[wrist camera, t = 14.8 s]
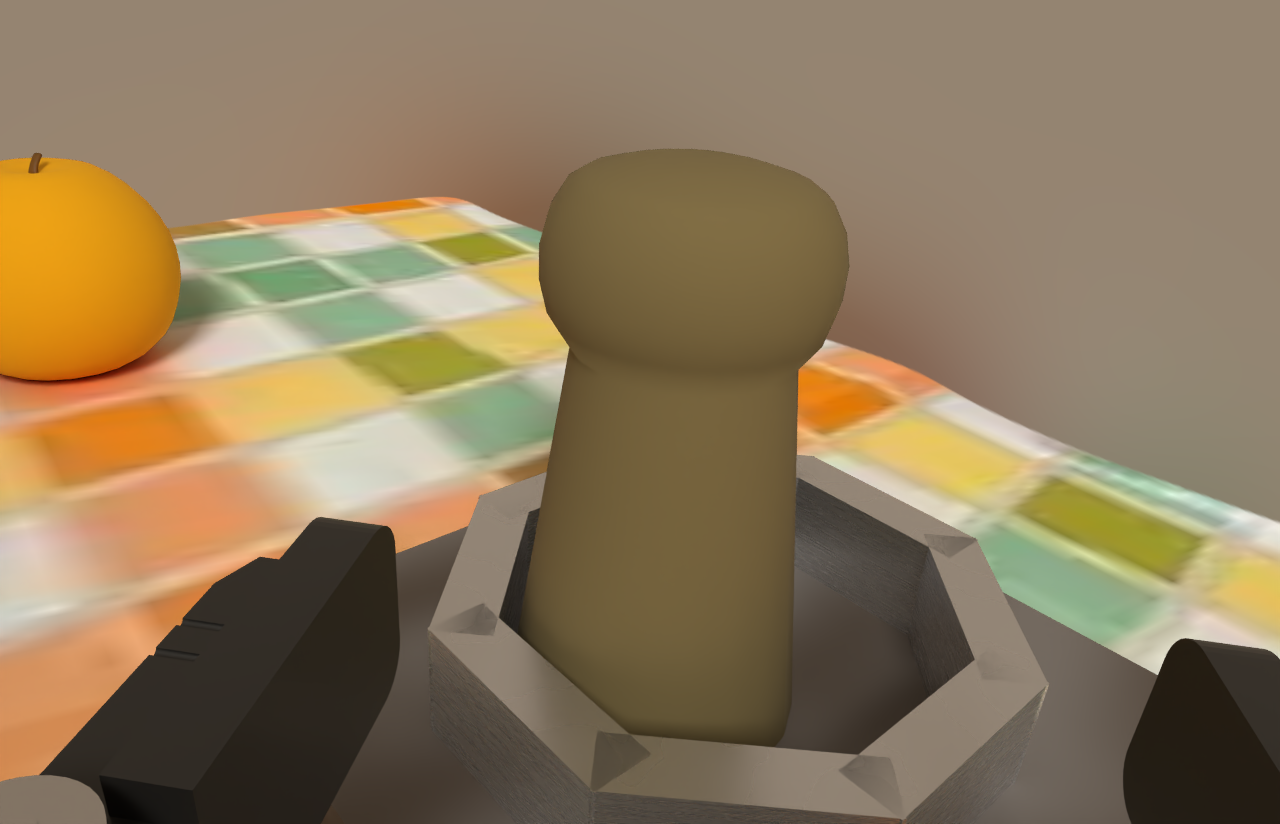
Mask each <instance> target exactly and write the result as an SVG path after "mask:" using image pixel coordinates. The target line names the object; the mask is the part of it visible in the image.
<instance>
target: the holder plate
mask: <svg viewBox="0 0 1280 824" xmlns="http://www.w3.org/2000/svg"><path fill="white" fill-rule="evenodd" d="M467 529H468V527H465V528H462V529H460V530H457V531H454V532H452V533H449V534H447V535H444V536H441V537H439V538H436V539H434V540H431V541H428V542H426V543H423V544H420V545H418V546H415V547H413V548H410V549H407V550H405V551H402V552H400V553H397V554H396V570H397V590H398V609H399V628H400V652H399V660H398V666H397V670H396V675H395V678H394V682H393V685H392V688H391V691H390V693H389V696H388V698H387V700H386V702H385V704H384V706H383V708H382V710H381V712H380V714H379V715H378V717H377V719H376V721H375V723H374V725H373V727H372V729H371V731H370V732H369V734H368V736H367V738H366V740H365V742H364V744H363V746H362V747H361V749H360V751H359V753H358V755H357V757H356V759H355V761H354V763H353V764H352V766H351V768H350V770H349V772H348V774H347V776H346V778H345V779H344V781H343V783H342V785H341V787H340V789H339V791H338V793H337V795H336V796H335V798H334V800H333V802H332V804H331V806H330V808H329V810H328V811H327V813H326V815H325V817H324V819H323V821H322V823H321V824H516V823H515V822H514V821H513V820H512V819H511V818H510V816H509V815H508V814H507V813H506V812H505V811H504V810H503V809H502V807H501V806H500V805H499V804H498V803H497V802H496V801H495V800H494V799H493V797H492V796H491V795H490V794H489V793H488V792H487V791H486V790H485V788H484V787H483V786H482V785H481V784H480V783H479V782H478V781H477V780H476V778H475V777H474V776H473V775H472V774H471V773H470V772H469V771H468V770H467V768H466V767H465V766H464V765H463V764H462V763H461V762H460V761H459V759H458V758H457V757H456V756H455V755H454V754H453V753H452V752H451V751H450V749H449V748H448V747H447V746H446V745H445V744H444V743H443V742H442V740H441V739H440V738H439V737H438V736H437V735H436V734H435V733H434V732H432V729H431V712H430V684H429V655H428V627H430V624H431V622H432V619H433V616H434V614H435V611H436V609H437V606H438V604H439V601H440V598H441V596H442V593H443V591H444V588H445V585H446V583H447V580H448V578H449V575H450V573H451V570H452V567H453V565H454V562H455V560H456V557H457V554H458V552H459V549H460V547H461V544H462V542H463V539H464V536H465V534H466V531H467ZM1003 594H1004V596H1005V598H1006V600H1007V602H1008V604H1009V606H1010V608H1011V610H1012V612H1013V614H1014V616H1015V618H1016V620H1017V622H1018V624H1019V626H1020V628H1021V630H1022V632H1023V634H1024V636H1025V638H1026V640H1027V642H1028V644H1029V646H1030V648H1031V650H1032V652H1033V654H1034V656H1035V658H1036V660H1037V662H1038V664H1039V666H1040V668H1041V670H1042V672H1043V674H1044V676H1045V678H1046V680H1047V682H1049V686H1048V689H1047V692H1046V695H1045V698H1044V701H1043V704H1042V706H1041V709H1040V712H1039V715H1038V718H1037V721H1036V724H1035V727H1034V729H1033V732H1032V735H1031V738H1030V741H1029V744H1028V747H1027V750H1026V752H1025V755H1024V758H1023V761H1022V764H1021V767H1020V770H1019V773H1018V775H1017V778H1016V781H1015V784H1012V785H1011V786H1010V787H1009V788H1008V789H1007V790H1006V791H1005V792H1004V793H1003V794H1002V795H1001V796H1000V797H999V798H998V799H997V800H996V801H995V802H994V803H993V804H992V805H991V806H990V807H989V808H988V809H987V810H986V811H985V813H984V814H983V815H982V816H981V817H980V818H979V819H978V820H977V821H976V822H975V823H974V824H1131V821H1130V819H1129V816H1128V813H1127V809H1126V805H1125V800H1124V792H1123V768H1124V761H1125V757H1126V753H1127V750H1128V747H1129V745H1130V742H1131V740H1132V737H1133V735H1134V732H1135V730H1136V728H1137V725H1138V723H1139V720H1140V718H1141V715H1142V713H1143V711H1144V708H1145V706H1146V703H1147V701H1148V698H1149V696H1150V694H1151V691H1152V689H1153V686H1154V684H1155V681H1156V679H1157V677H1158V675H1156V674H1154V673H1152V672H1150V671H1149V670H1147V669H1145V668H1143V667H1141V666H1139V665H1137V664H1136V663H1134V662H1132V661H1130V660H1128V659H1126V658H1124V657H1122V656H1121V655H1119V654H1117V653H1115V652H1113V651H1111V650H1109V649H1108V648H1106V647H1104V646H1102V645H1100V644H1098V643H1096V642H1094V641H1093V640H1091V639H1089V638H1087V637H1085V636H1083V635H1081V634H1080V633H1078V632H1076V631H1074V630H1072V629H1070V628H1068V627H1066V626H1065V625H1063V624H1061V623H1059V622H1057V621H1055V620H1053V619H1052V618H1050V617H1048V616H1046V615H1044V614H1042V613H1040V612H1039V611H1037V610H1035V609H1033V608H1031V607H1029V606H1027V605H1025V604H1024V603H1022V602H1020V601H1018V600H1016V599H1014V598H1012V597H1011V596H1009V595H1007V594H1005V593H1003ZM926 699H927V696H926V693H925V690H924V687H923V684H922V681H921V678H920V675H919V672H918V669H917V666H916V663H915V659H914V656H913V653H912V650H911V647H910V644H909V641H908V638H907V635H906V634H904V633H903V632H901V631H899V630H898V629H896V628H894V627H893V626H891V625H889V624H888V623H886V622H885V621H883V620H881V619H880V618H878V617H876V616H875V615H873V614H872V613H870V612H868V611H867V610H865V609H863V608H862V607H860V606H858V605H857V604H855V603H854V602H852V601H850V600H849V599H847V598H845V597H844V596H842V595H840V594H839V593H837V592H836V591H834V590H832V589H831V588H829V587H827V586H826V585H824V584H822V583H821V582H819V581H818V580H816V579H814V578H813V577H811V576H809V575H808V574H806V573H805V572H803V571H801V570H800V569H798V568H796V567H795V566H794V609H793V658H792V705H791V709H790V713H789V717H788V721H787V725H786V729H785V733H784V736H783V738H782V739H781V740H780V741H779V742H778V744H777V745H776V746H775V748H786V749H798V750H809V751H820V752H831V753H842V754H854V755H859V754H860V753H861V752H862V751H863V750H865V749H866V748H867V747H868V746H870V745H871V744H872V743H873V742H874V741H876V740H877V739H878V738H879V737H881V736H882V735H883V734H884V733H886V732H887V731H888V730H889V729H890V728H892V727H893V726H894V725H895V724H897V723H898V722H899V721H900V720H901V719H903V718H904V717H905V716H906V715H908V714H909V713H910V712H911V711H912V710H914V709H915V708H916V707H917V706H919V705H920V704H921V703H922V702H924V701H925V700H926Z"/></svg>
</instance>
